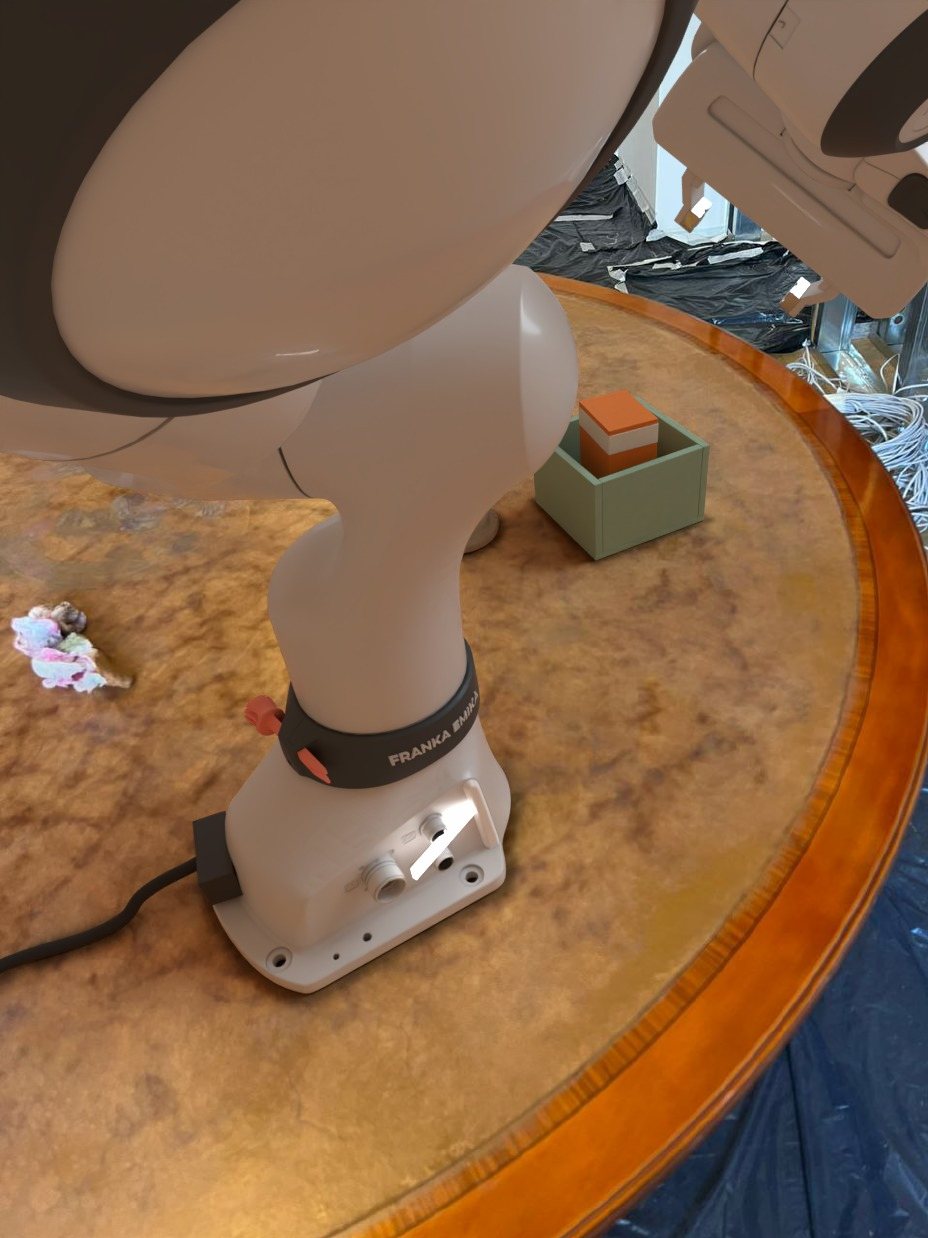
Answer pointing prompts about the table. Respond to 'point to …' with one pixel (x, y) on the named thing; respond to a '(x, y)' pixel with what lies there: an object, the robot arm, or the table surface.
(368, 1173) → the table surface
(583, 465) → the packet
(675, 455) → the open storage bin
